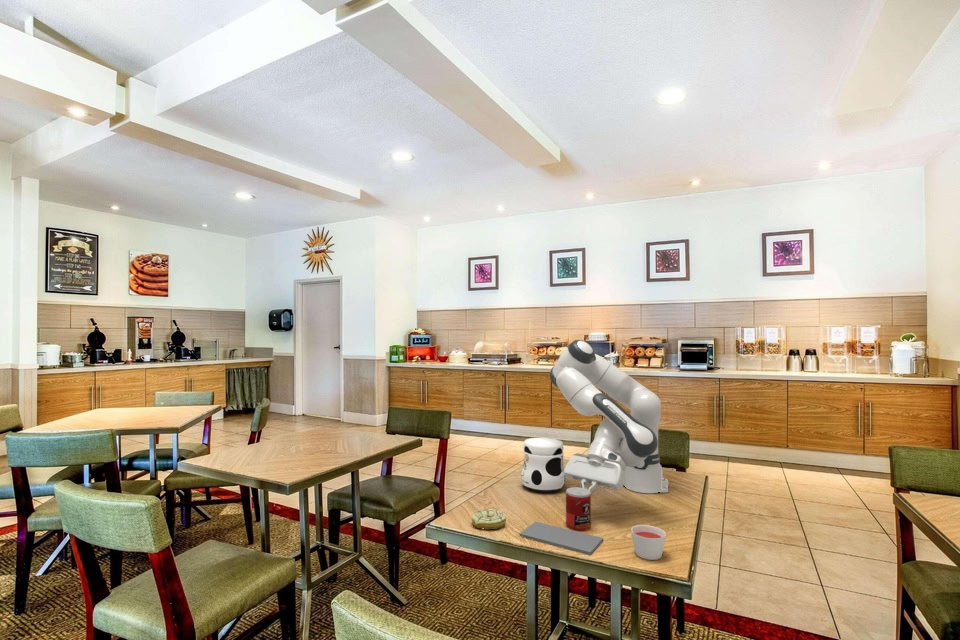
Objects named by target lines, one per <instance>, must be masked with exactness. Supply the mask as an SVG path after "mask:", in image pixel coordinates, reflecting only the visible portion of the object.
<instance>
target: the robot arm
mask: <svg viewBox="0 0 960 640" xmlns="http://www.w3.org/2000/svg"><path fill="white" fill-rule="evenodd" d="M549 379H550V381H551V383H552V384H553V385H554V387H556V388H557V389H559V390H560V393H561V394H562V395H563V397H564V398H565V400H567V402H568V403H569V405H571V406H572V408H573V409H574V410H575V411H577V413H579V414H580V415H581V416H585V417H593V416H596V415H599V416H603V417H605V418H603V419H602V421H601V422H600V423H599V425H598V427H597V430H596V431H595V434H594V440H593V441H592V442H591V443H590V445H589V447H588V450H587V453H586V454H583V453H582V454H581V453H578V452H577V453H576V454H572V455H571V456H570V458H569V459H568V461H567V463H566V465H565V466H564V473H565V475H566V478H567V479H569V480H570V479H571V480H573V481H577V482H578V481H579V482H580V483H581V488H585V489H587V490H589V491H590V492H591V495H592V494H593V492H594V491H595V490H597V489H598V488H599V487H603V488H607V489H612V490H616V491H620V490H621V489H622V488H623V487H624V486H625V487H626V488H625V487H624V488H625V489H627V490H629V491H632V492H636V493H642V494H659V493H658V492H660V493H669V492H668V491H669V490H668V486H669V479H667V478H665V477H663V476H664V475H663V474H664V473H663V467H662V464H660V461H661V459H660V458H661V457H660V456H661V455H660V451H659V428H660V422H661V421H660V420H661V411H662V403H661V402H662V401H661V399H660V398H659V396H658V395H657V394H656V393H654V392H653V391H652V390H650V389H649V388H647V387H646V386H644V385H643V384H641V383H640V382H638V381H637V380H635V379H634V378H633V377H631V376H630V375H629V374H627V373H626V372H624V371H623V370H622V369H620V368H619V367H618V366H616V365H615V364H613V363H612V362H610V360H608V359H605V358H604V357H602V356H601V355H599V354H597V353H595V350H594V348H593V347H592V345H591V344H589V343H588V342H587V341H585V340H583V339H575V340H573V341H572V342H570V343H569V345H568V346H567V348H565V349H564V351H562V353H561V354H560V355H559V357H558V359H557V360H556V362H555V364H554V365H553V366H552V368H551V370H550V372H549ZM600 390H601V391H600ZM603 392H604V393H603ZM605 393H606V394H605ZM616 401H617V402H616ZM620 404H622V405H623V406H624V407H626V408H627V409H629V410H630V413H629V412H628V411H627V410H626V409H624V408H623V407H622V406H621V405H620ZM590 484H591V486H589V488H588V487H587V486H588V485H590ZM623 485H624V486H623Z"/></svg>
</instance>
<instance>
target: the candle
mask: <svg viewBox="0 0 960 640" xmlns="http://www.w3.org/2000/svg"><path fill="white" fill-rule="evenodd" d="M630 530H631V537H632V542H633V547H634V552H635V555H637V556H638V557H639V558H641V559H644V560H648V561H656V560H659V559H661V558H662V555H663V551H664V546H665V541H666V534H667V532H665V531H664V530H663V529H662V528H660V527H656V526H653V525H648V524H637V525H634V526H632V527H631V529H630Z"/></svg>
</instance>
